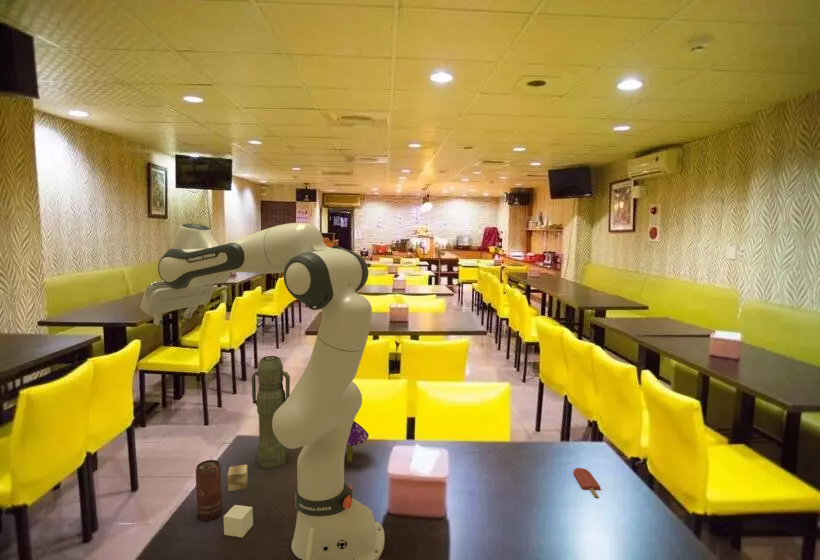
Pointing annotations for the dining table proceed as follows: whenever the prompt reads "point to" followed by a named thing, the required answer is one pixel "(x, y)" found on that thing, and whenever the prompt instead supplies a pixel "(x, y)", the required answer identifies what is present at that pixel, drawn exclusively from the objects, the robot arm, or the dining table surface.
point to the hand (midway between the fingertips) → (172, 320)
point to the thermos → (270, 409)
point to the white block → (238, 521)
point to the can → (208, 490)
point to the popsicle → (586, 480)
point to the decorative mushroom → (355, 438)
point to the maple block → (237, 477)
